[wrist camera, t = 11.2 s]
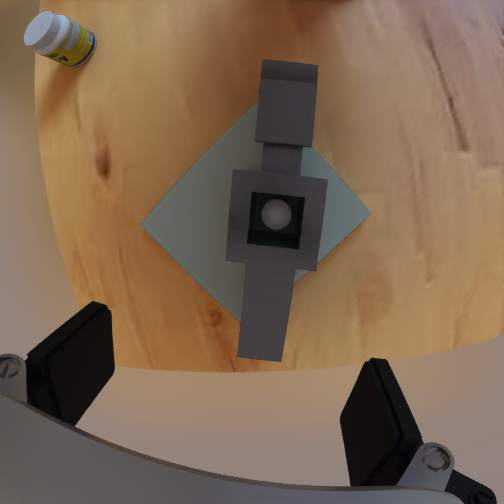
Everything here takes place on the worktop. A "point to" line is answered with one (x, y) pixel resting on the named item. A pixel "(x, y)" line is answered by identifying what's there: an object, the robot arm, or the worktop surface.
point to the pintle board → (267, 205)
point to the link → (272, 247)
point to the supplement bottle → (60, 39)
